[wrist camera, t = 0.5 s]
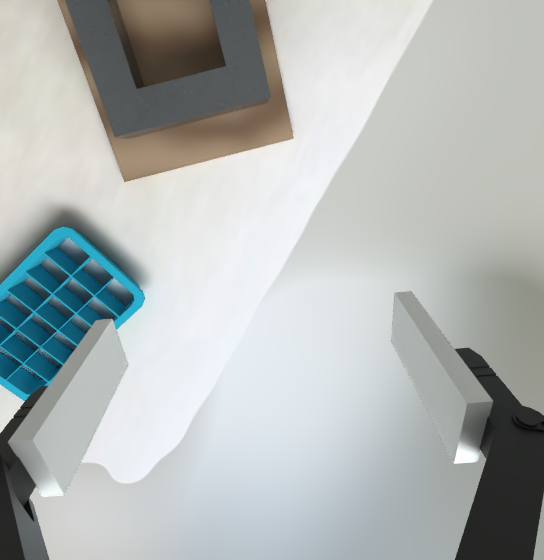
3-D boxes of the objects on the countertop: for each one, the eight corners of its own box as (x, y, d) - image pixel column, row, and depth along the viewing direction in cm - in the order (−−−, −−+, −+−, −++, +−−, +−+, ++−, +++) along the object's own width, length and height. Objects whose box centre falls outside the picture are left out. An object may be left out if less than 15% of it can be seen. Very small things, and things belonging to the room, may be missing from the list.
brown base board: (33, -77, 31) (26, -85, 30) (236, -130, 31) (236, -139, 30) (127, 181, 38) (124, 181, 37) (292, 138, 38) (293, 138, 37)
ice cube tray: (-38, 331, 43) (-58, 343, 40) (75, 216, 40) (62, 221, 37) (45, 391, 46) (32, 406, 43) (155, 289, 43) (149, 299, 40)
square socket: (66, -35, 31) (42, -61, 28) (228, -77, 31) (226, -109, 28) (127, 139, 36) (114, 137, 32) (267, 103, 36) (270, 97, 32)
